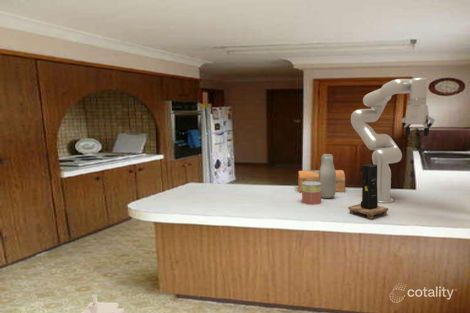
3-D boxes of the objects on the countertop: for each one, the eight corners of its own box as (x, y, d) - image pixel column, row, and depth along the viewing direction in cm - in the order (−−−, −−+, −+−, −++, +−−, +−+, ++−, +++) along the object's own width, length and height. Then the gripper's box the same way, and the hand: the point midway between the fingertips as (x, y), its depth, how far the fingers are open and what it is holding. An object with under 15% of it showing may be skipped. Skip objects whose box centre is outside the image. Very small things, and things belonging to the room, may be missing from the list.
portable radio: (369, 210, 170) (370, 162, 166) (359, 207, 175) (359, 160, 171) (378, 207, 174) (379, 160, 170) (368, 205, 179) (369, 159, 176)
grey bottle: (330, 195, 215) (330, 152, 211) (338, 199, 205) (338, 154, 201) (316, 196, 213) (316, 153, 209) (323, 200, 203) (323, 155, 199)
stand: (348, 213, 177) (348, 206, 177) (365, 208, 185) (365, 202, 184) (371, 220, 165) (371, 213, 165) (388, 214, 173) (388, 208, 172)
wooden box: (340, 187, 236) (341, 168, 234) (345, 193, 220) (345, 172, 218) (298, 187, 240) (297, 168, 238) (299, 193, 224) (299, 173, 222)
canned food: (314, 199, 207) (314, 180, 205) (324, 204, 196) (325, 184, 195) (298, 201, 204) (298, 182, 202) (308, 206, 193) (307, 186, 191)
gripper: (397, 103, 177) (396, 135, 179) (431, 101, 162) (429, 136, 165) (406, 102, 181) (404, 134, 183) (439, 101, 166) (437, 135, 169)
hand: (416, 135), depth 174 cm, fingers open, 9 cm apart
